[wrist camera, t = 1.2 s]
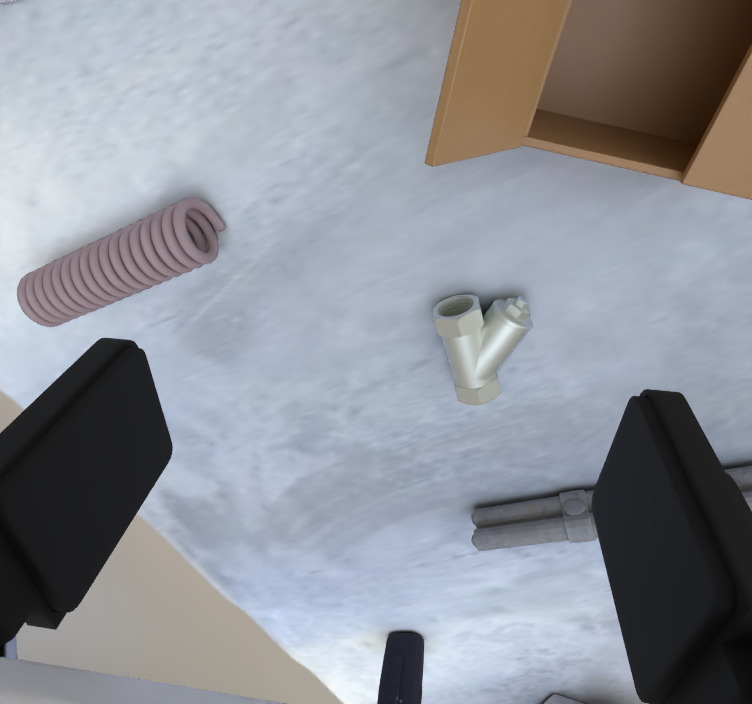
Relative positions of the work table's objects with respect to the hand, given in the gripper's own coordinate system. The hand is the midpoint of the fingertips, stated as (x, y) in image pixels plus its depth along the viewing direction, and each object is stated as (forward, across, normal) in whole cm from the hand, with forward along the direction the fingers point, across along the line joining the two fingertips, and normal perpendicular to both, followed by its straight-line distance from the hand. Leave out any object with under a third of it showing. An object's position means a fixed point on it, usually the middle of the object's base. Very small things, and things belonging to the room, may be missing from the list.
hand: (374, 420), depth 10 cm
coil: (+28, +24, +11) cm, 38 cm away
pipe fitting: (+28, -5, +15) cm, 32 cm away
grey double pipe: (+27, -18, +31) cm, 45 cm away
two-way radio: (+27, -1, +63) cm, 69 cm away
